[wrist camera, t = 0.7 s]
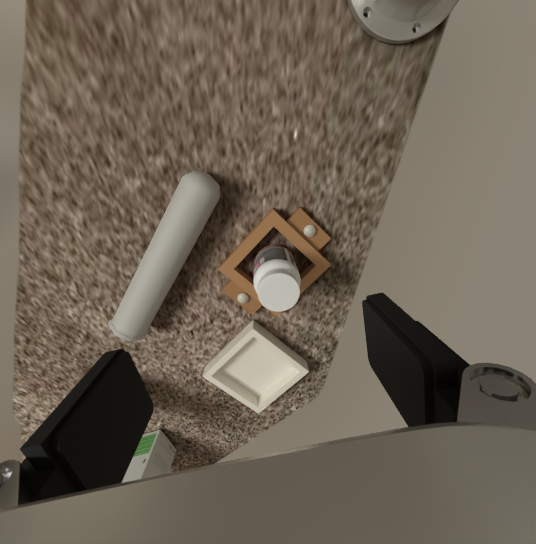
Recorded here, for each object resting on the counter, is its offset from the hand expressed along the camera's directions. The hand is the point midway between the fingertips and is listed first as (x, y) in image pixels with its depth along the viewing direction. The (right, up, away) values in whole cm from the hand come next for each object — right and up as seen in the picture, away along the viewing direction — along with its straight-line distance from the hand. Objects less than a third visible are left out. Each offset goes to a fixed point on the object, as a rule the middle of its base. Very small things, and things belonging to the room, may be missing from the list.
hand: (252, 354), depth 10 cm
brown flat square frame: (+2, +4, +28) cm, 28 cm away
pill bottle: (+2, +5, +28) cm, 28 cm away
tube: (-13, +6, +27) cm, 31 cm away
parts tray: (-1, -12, +34) cm, 36 cm away
